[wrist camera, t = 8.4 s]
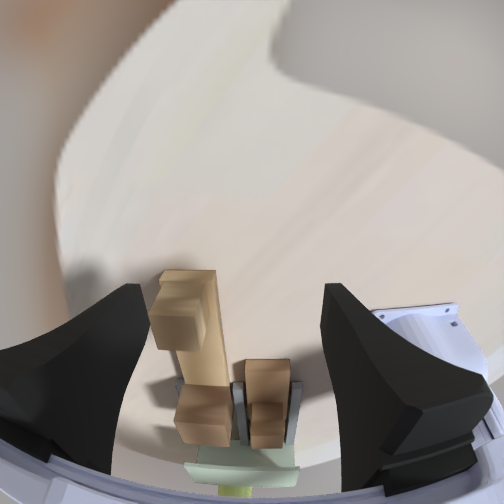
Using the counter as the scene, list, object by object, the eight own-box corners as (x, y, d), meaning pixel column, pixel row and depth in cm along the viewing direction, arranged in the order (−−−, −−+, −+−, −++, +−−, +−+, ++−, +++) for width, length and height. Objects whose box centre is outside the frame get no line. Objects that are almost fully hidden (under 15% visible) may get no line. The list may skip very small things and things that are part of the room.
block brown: (289, 359, 26) (293, 407, 21) (285, 408, 30) (286, 450, 25) (245, 359, 26) (241, 407, 21) (249, 409, 30) (247, 450, 25)
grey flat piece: (301, 381, 27) (302, 393, 26) (293, 438, 33) (293, 448, 32) (177, 378, 28) (174, 389, 27) (198, 436, 34) (196, 445, 32)
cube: (229, 386, 26) (224, 425, 22) (233, 411, 28) (229, 447, 24) (183, 383, 26) (173, 421, 22) (191, 408, 28) (184, 443, 24)
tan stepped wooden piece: (215, 270, 22) (202, 316, 17) (231, 398, 29) (227, 441, 24) (164, 270, 22) (140, 314, 17) (195, 396, 29) (186, 438, 24)
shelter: (296, 419, 31) (300, 470, 24) (293, 442, 34) (295, 486, 27) (193, 417, 31) (183, 465, 25) (201, 439, 34) (194, 482, 28)
